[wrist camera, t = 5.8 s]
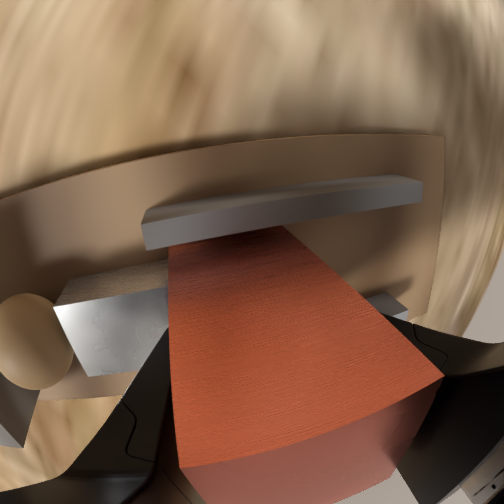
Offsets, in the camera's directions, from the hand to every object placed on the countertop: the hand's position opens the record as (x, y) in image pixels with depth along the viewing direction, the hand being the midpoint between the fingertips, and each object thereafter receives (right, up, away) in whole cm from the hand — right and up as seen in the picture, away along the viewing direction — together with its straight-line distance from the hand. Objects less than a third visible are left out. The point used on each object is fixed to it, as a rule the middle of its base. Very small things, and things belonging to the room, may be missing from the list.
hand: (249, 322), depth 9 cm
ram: (-3, +1, +2) cm, 3 cm away
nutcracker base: (-2, +1, +3) cm, 4 cm away
